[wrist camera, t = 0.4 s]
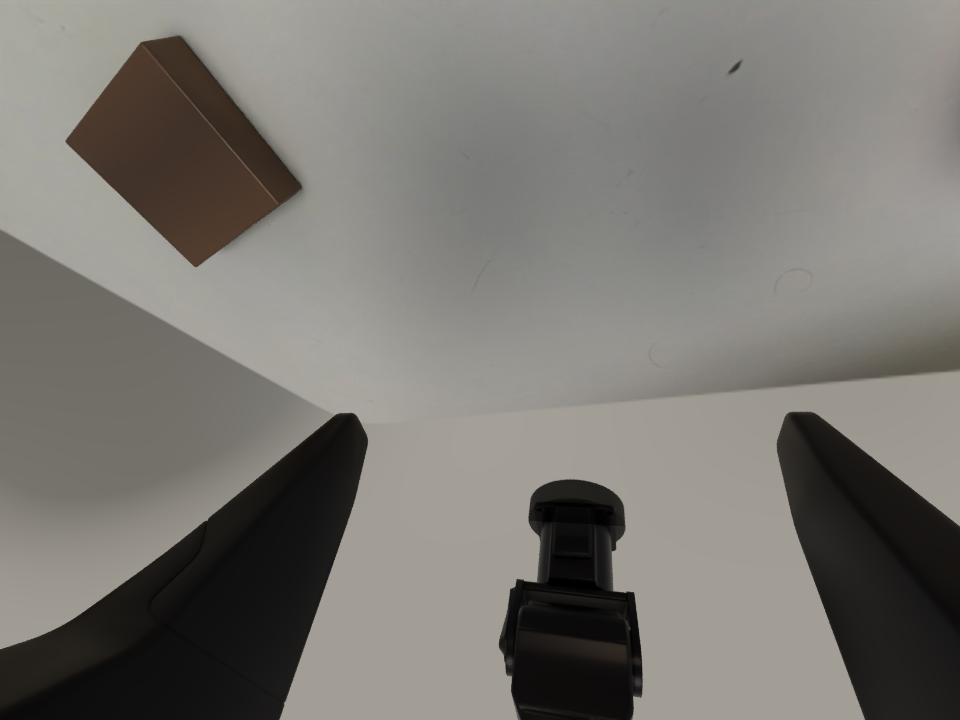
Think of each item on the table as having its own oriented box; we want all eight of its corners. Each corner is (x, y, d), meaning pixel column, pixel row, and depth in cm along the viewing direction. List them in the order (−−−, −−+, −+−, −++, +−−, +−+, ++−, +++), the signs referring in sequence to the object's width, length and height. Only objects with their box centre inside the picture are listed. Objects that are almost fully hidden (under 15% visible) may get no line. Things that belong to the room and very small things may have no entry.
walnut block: (303, 187, 20) (280, 205, 19) (220, 249, 23) (195, 268, 22) (179, 34, 17) (140, 40, 15) (102, 128, 20) (63, 141, 18)
